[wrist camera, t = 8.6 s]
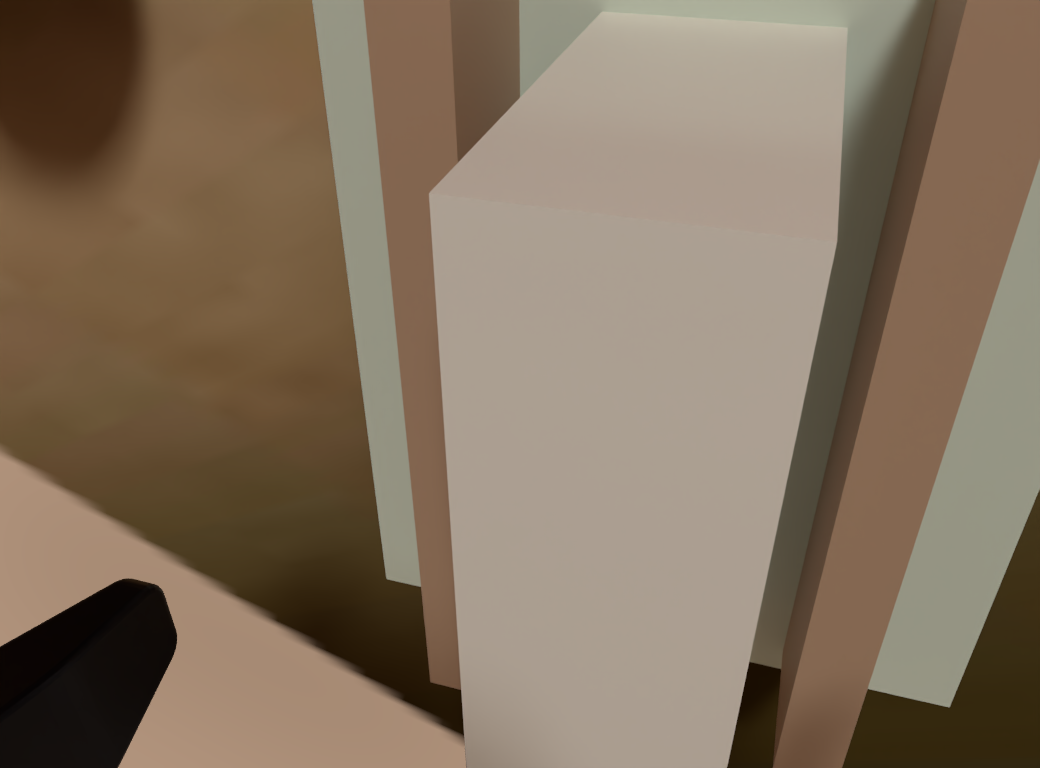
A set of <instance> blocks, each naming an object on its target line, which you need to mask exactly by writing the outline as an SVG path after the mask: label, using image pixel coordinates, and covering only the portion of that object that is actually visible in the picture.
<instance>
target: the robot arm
mask: <svg viewBox="0 0 1040 768" xmlns="http://www.w3.org/2000/svg"><path fill="white" fill-rule="evenodd" d="M176 644H177V633H176V629H175V626H174V623H173V620H172V617H171V614H170V611H169V608H168V605H167V602H166V598H165V596H164V593H163V591H162V589H161V588H159V586H157V585H155V584H151V583H147V582H143V581H139V580H135V579H122V580H119V581H117V582H114V583H113V584H111V585H109V586H108V587H106V588H104V589H102V590H100V591H98V592H97V593H95V594H93V595H92V596H89V597H88V598H86V599H84V600H82V601H81V602H79V603H77V604H75V605H74V606H72V607H70V608H68V609H66V610H65V611H63V612H61V613H59V614H57V615H56V616H54V617H52V618H50V619H49V620H47V621H45V622H43V623H41V624H40V625H38V626H36V627H34V628H33V629H31V630H29V631H27V632H26V633H24V634H22V635H20V636H18V637H17V638H15V639H13V640H11V641H9V642H8V643H6V644H4V645H2V646H1V647H0V768H118V766H119V764H120V763H121V761H122V759H123V756H124V755H125V753H126V751H127V749H128V747H129V745H130V742H131V741H132V738H133V736H134V734H135V732H136V730H137V728H138V726H139V724H140V722H141V720H142V718H143V716H144V714H145V712H146V710H147V708H148V706H149V704H150V702H151V700H152V698H153V696H154V694H155V692H156V690H157V688H158V686H159V684H160V682H161V680H162V678H163V676H164V674H165V672H166V670H167V668H168V666H169V664H170V662H171V660H172V657H173V655H174V652H175V649H176Z"/></svg>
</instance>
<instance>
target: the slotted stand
mask: <svg viewBox="0 0 1040 768" xmlns="http://www.w3.org/2000/svg"><path fill="white" fill-rule="evenodd" d="M312 2H313V10H314V18H315V25H316V33H317V41H318V49H319V57H320V64H321V72H322V80H323V88H324V96H325V103H326V111H327V119H328V127H329V135H330V142H331V150H332V158H333V166H334V174H335V181H336V189H337V197H338V205H339V213H340V220H341V228H342V236H343V244H344V252H345V259H346V267H347V275H348V283H349V291H350V298H351V306H352V314H353V322H354V330H355V337H356V345H357V353H358V361H359V369H360V376H361V384H362V392H363V400H364V408H365V415H366V423H367V431H368V439H369V447H370V454H371V462H372V470H373V478H374V486H375V493H376V501H377V509H378V517H379V525H380V532H381V540H382V548H383V556H384V564H385V571H386V579H389V580H393V581H397V582H402V583H406V584H411V585H415V586H419V587H421V590H422V601H423V611H424V621H425V631H426V641H427V651H428V662H429V672H430V682H432V683H436V684H440V685H444V686H448V687H452V688H455V689H459V690H461V678H460V663H459V648H458V632H457V617H456V602H455V586H454V571H453V556H452V540H451V525H450V510H449V494H448V479H447V464H446V448H445V433H444V418H443V402H442V387H441V372H440V356H439V341H438V326H437V310H436V295H435V280H434V264H433V249H432V234H431V218H430V203H429V193H430V192H431V191H432V189H433V188H434V187H435V186H436V185H437V184H438V183H439V182H440V181H441V180H442V179H443V178H444V177H445V176H446V175H447V174H448V173H449V172H450V171H451V170H452V169H453V167H454V166H455V165H456V164H457V163H458V162H459V161H460V160H461V159H462V158H463V157H464V156H465V155H466V154H467V153H468V152H469V151H470V150H471V149H472V148H473V146H474V145H475V144H476V143H477V142H478V141H479V140H480V139H481V138H482V137H483V136H484V135H485V134H486V133H487V132H488V131H489V130H490V129H491V128H492V127H493V125H494V124H495V123H496V122H497V121H498V120H499V119H500V118H501V117H502V116H503V115H504V114H505V113H506V112H507V111H508V110H509V109H510V108H511V107H512V106H513V104H514V103H515V102H516V101H517V100H518V99H519V98H520V97H521V96H522V95H523V94H524V93H525V92H526V91H527V90H528V89H529V88H530V87H531V86H532V85H533V84H534V82H535V81H536V80H537V79H538V78H539V77H540V76H541V75H542V74H543V73H544V72H545V71H546V70H547V69H548V68H549V67H550V66H551V65H552V64H553V63H554V61H555V60H556V59H557V58H558V57H559V56H560V55H561V54H562V53H563V52H564V51H565V50H566V49H567V48H568V47H569V46H570V45H571V44H572V43H573V42H574V40H575V39H576V38H577V37H578V36H579V35H580V34H581V33H582V32H583V31H584V30H585V29H586V28H587V27H588V26H589V25H590V24H591V23H592V22H593V21H594V19H595V18H596V17H597V16H598V15H599V14H600V13H601V12H616V13H631V14H646V15H661V16H676V17H692V18H707V19H722V20H737V21H752V22H767V23H782V24H798V25H813V26H828V27H843V28H848V32H847V52H846V72H845V93H844V113H843V133H842V154H841V174H840V194H839V215H838V235H837V245H836V250H835V255H834V260H833V264H832V269H831V274H830V279H829V283H828V288H827V293H826V298H825V303H824V307H823V312H822V317H821V322H820V326H819V331H818V336H817V341H816V345H815V350H814V355H813V360H812V365H811V369H810V374H809V379H808V384H807V388H806V393H805V398H804V403H803V408H802V412H801V417H800V422H799V427H798V431H797V436H796V441H795V446H794V450H793V455H792V460H791V465H790V470H789V474H788V479H787V484H786V489H785V493H784V498H783V503H782V508H781V512H780V517H779V522H778V527H777V532H776V536H775V541H774V546H773V551H772V555H771V560H770V565H769V570H768V574H767V579H766V584H765V589H764V594H763V598H762V603H761V608H760V613H759V617H758V622H757V627H756V632H755V636H754V641H753V646H752V651H751V656H750V660H749V662H753V663H757V664H761V665H766V666H770V667H774V668H779V669H781V678H780V690H779V701H778V713H777V725H776V736H775V748H774V759H773V768H842V766H843V763H844V760H845V757H846V753H847V750H848V747H849V744H850V741H851V738H852V735H853V732H854V729H855V726H856V723H857V720H858V717H859V714H860V710H861V707H862V704H863V701H864V698H865V695H866V692H867V689H871V690H875V691H880V692H884V693H888V694H893V695H897V696H902V697H906V698H910V699H915V700H919V701H924V702H928V703H932V704H937V705H941V706H945V707H950V705H951V702H952V700H953V698H954V695H955V693H956V690H957V688H958V685H959V683H960V681H961V678H962V676H963V673H964V671H965V668H966V666H967V664H968V661H969V659H970V656H971V654H972V651H973V649H974V647H975V644H976V642H977V639H978V637H979V634H980V632H981V630H982V627H983V625H984V622H985V620H986V618H987V615H988V613H989V610H990V608H991V605H992V603H993V601H994V598H995V596H996V593H997V591H998V588H999V586H1000V584H1001V581H1002V579H1003V576H1004V574H1005V571H1006V569H1007V567H1008V564H1009V562H1010V559H1011V557H1012V554H1013V552H1014V550H1015V547H1016V545H1017V542H1018V540H1019V537H1020V535H1021V533H1022V530H1023V528H1024V525H1025V523H1026V521H1027V518H1028V516H1029V513H1030V511H1031V508H1032V506H1033V504H1034V501H1035V499H1036V496H1037V494H1038V491H1039V489H1040V0H312Z"/></svg>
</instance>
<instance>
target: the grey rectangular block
mask: <svg viewBox="0 0 1040 768" xmlns="http://www.w3.org/2000/svg"><path fill="white" fill-rule="evenodd" d="M847 32H848V28H843V27H828V26H813V25H798V24H782V23H767V22H752V21H737V20H722V19H707V18H692V17H676V16H661V15H646V14H631V13H616V12H601V13H600V14H599V15H598V16H597V17H596V18H595V19H594V21H593V22H592V23H591V24H590V25H589V26H588V27H587V28H586V29H585V30H584V31H583V32H582V33H581V34H580V35H579V36H578V37H577V38H576V39H575V40H574V42H573V43H572V44H571V45H570V46H569V47H568V48H567V49H566V50H565V51H564V52H563V53H562V54H561V55H560V56H559V57H558V58H557V59H556V60H555V61H554V63H553V64H552V65H551V66H550V67H549V68H548V69H547V70H546V71H545V72H544V73H543V74H542V75H541V76H540V77H539V78H538V79H537V80H536V81H535V82H534V84H533V85H532V86H531V87H530V88H529V89H528V90H527V91H526V92H525V93H524V94H523V95H522V96H521V97H520V98H519V99H518V100H517V101H516V102H515V103H514V104H513V106H512V107H511V108H510V109H509V110H508V111H507V112H506V113H505V114H504V115H503V116H502V117H501V118H500V119H499V120H498V121H497V122H496V123H495V124H494V125H493V127H492V128H491V129H490V130H489V131H488V132H487V133H486V134H485V135H484V136H483V137H482V138H481V139H480V140H479V141H478V142H477V143H476V144H475V145H474V146H473V148H472V149H471V150H470V151H469V152H468V153H467V154H466V155H465V156H464V157H463V158H462V159H461V160H460V161H459V162H458V163H457V164H456V165H455V166H454V167H453V169H452V170H451V171H450V172H449V173H448V174H447V175H446V176H445V177H444V178H443V179H442V180H441V181H440V182H439V183H438V184H437V185H436V186H435V187H434V188H433V189H432V191H431V192H430V193H429V203H430V218H431V234H432V249H433V264H434V280H435V295H436V310H437V326H438V341H439V356H440V372H441V387H442V402H443V418H444V433H445V448H446V464H447V479H448V494H449V510H450V525H451V540H452V556H453V571H454V586H455V602H456V617H457V632H458V648H459V663H460V678H461V694H462V709H463V724H464V740H465V755H466V768H727V765H728V761H729V756H730V751H731V746H732V741H733V737H734V732H735V727H736V722H737V718H738V713H739V708H740V703H741V699H742V694H743V689H744V684H745V679H746V675H747V670H748V665H749V660H750V656H751V651H752V646H753V641H754V636H755V632H756V627H757V622H758V617H759V613H760V608H761V603H762V598H763V594H764V589H765V584H766V579H767V574H768V570H769V565H770V560H771V555H772V551H773V546H774V541H775V536H776V532H777V527H778V522H779V517H780V512H781V508H782V503H783V498H784V493H785V489H786V484H787V479H788V474H789V470H790V465H791V460H792V455H793V450H794V446H795V441H796V436H797V431H798V427H799V422H800V417H801V412H802V408H803V403H804V398H805V393H806V388H807V384H808V379H809V374H810V369H811V365H812V360H813V355H814V350H815V345H816V341H817V336H818V331H819V326H820V322H821V317H822V312H823V307H824V303H825V298H826V293H827V288H828V283H829V279H830V274H831V269H832V264H833V260H834V255H835V250H836V245H837V235H838V215H839V194H840V174H841V154H842V133H843V113H844V93H845V72H846V52H847Z"/></svg>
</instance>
